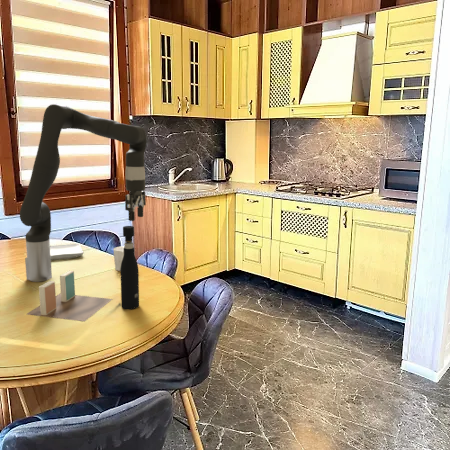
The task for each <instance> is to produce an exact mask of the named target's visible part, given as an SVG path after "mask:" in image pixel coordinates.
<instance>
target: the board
mask: <svg viewBox="0 0 450 450" xmlns="http://www.w3.org/2000/svg"><path fill="white" fill-rule="evenodd" d="M111 301H113V299H112V298H107V297H106V298H105V297H97V296H89V295H88V296H87V295H78V294H75V297H73V298H72V299H70V300H68V301H67V302H62V301H61V292H60V293H58V294H57V295H56V309H55V310H53V311H52V312H50V313H49V314H47V315H41V311H40V305H39V306H37V307H35V308H33V309H32V310H30V311H29V312H27V313H26V315H30V316H37V317H44V318H51V319H53V318H54V319H60V320H61V319H63V320H69V321H77V322H86V321H87V320H88V319H90V318H91V317H92V316H94V315H95V314H97V312H99V311H100V310H101V309H102V308H104V307H106V305H107V304H108V303H110V302H111Z"/></svg>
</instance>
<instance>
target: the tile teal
mask: <svg viewBox="0 0 450 450" xmlns="http://www.w3.org/2000/svg"><path fill="white" fill-rule="evenodd" d="M59 285H60V287H59V288H60V293H61V301H62V302H67V301H68V300H70V299H72V298H73V297H75V295H76V288H75V287H76V285H75V271H74V270H67V271H65V272H64V273H62V274H60V275H59Z"/></svg>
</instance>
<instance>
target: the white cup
mask: <svg viewBox="0 0 450 450" xmlns="http://www.w3.org/2000/svg"><path fill="white" fill-rule="evenodd" d="M124 246H125V245H123V246H117V247H114V248H113V259H114V267H115V268H114V269H115V271H117V272H120V269H121V263H122V259H123V256H124V248H125V247H124Z"/></svg>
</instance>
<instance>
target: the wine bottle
mask: <svg viewBox="0 0 450 450" xmlns="http://www.w3.org/2000/svg"><path fill="white" fill-rule="evenodd" d="M122 237H124V243H123V246H124V247H125V248H124V256H123V259H122V263H121V269H120V271H119V272H120V298H121V300H120V303H121V309H123V310H126V311H127V310H130V311H131V310H136V309H138V308H140V307H139V306H140V285H139V283H140V280H139V279H140V277H139V276H140V275H139V264H138V262H137V259H136V256H135V247H134V246H135V245H134V242H133V237H135V227H134V226H133V225H125V226H123V227H122Z"/></svg>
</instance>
